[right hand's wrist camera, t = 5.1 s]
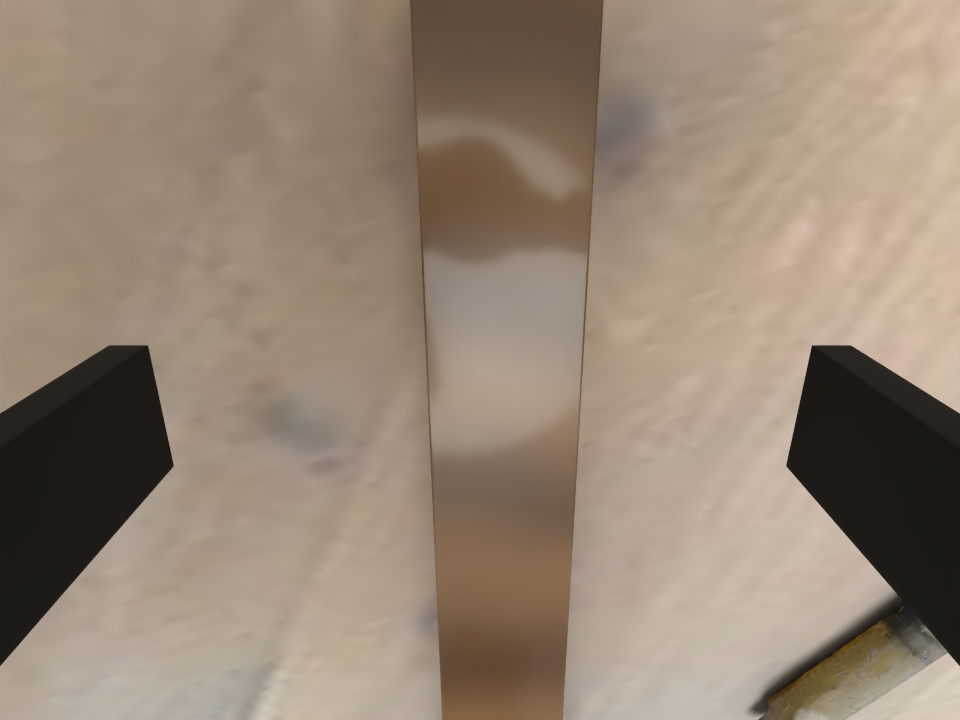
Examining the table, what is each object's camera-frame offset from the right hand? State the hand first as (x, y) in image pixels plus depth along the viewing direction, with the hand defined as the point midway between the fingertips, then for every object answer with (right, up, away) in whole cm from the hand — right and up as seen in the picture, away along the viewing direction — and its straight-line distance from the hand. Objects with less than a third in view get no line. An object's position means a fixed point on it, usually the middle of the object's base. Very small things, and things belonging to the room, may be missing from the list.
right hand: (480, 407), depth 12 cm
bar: (+1, -19, +22) cm, 30 cm away
